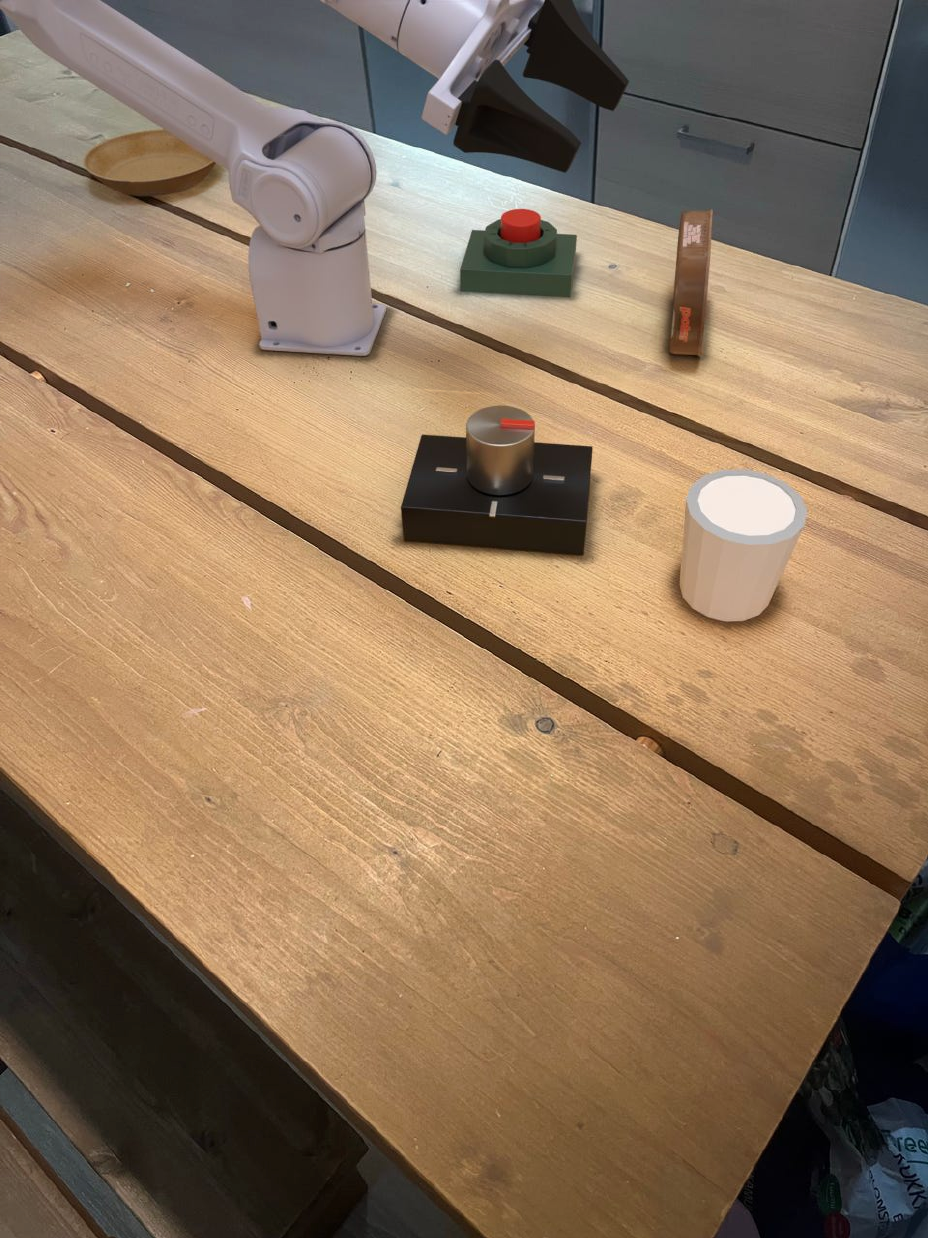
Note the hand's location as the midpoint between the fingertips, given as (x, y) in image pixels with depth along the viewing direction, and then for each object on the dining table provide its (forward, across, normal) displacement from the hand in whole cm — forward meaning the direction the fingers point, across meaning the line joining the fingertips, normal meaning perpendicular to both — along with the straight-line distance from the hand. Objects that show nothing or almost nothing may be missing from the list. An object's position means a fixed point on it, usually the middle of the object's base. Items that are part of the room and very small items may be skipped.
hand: (598, 126), depth 62 cm
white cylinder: (+23, -20, +7) cm, 31 cm away
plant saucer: (-44, +12, +45) cm, 64 cm away
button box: (-2, +11, +25) cm, 27 cm away
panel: (+8, -20, +14) cm, 26 cm away
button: (-4, +11, +22) cm, 25 cm away
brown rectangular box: (+13, +9, +18) cm, 24 cm away
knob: (+7, -19, +11) cm, 23 cm away
